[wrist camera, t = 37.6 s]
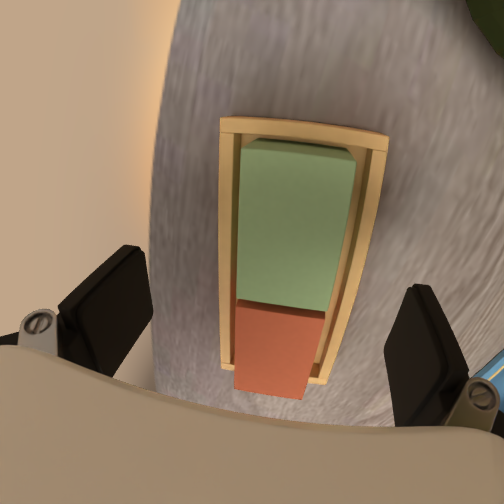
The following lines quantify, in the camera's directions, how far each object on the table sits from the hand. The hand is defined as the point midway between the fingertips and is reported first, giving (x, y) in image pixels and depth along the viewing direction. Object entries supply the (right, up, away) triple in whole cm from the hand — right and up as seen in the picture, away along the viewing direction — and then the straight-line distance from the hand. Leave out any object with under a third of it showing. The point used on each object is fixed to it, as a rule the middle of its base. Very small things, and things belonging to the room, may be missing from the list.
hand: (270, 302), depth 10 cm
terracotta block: (+1, -3, +11) cm, 12 cm away
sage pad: (+2, +4, +7) cm, 9 cm away
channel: (+2, +1, +10) cm, 10 cm away
